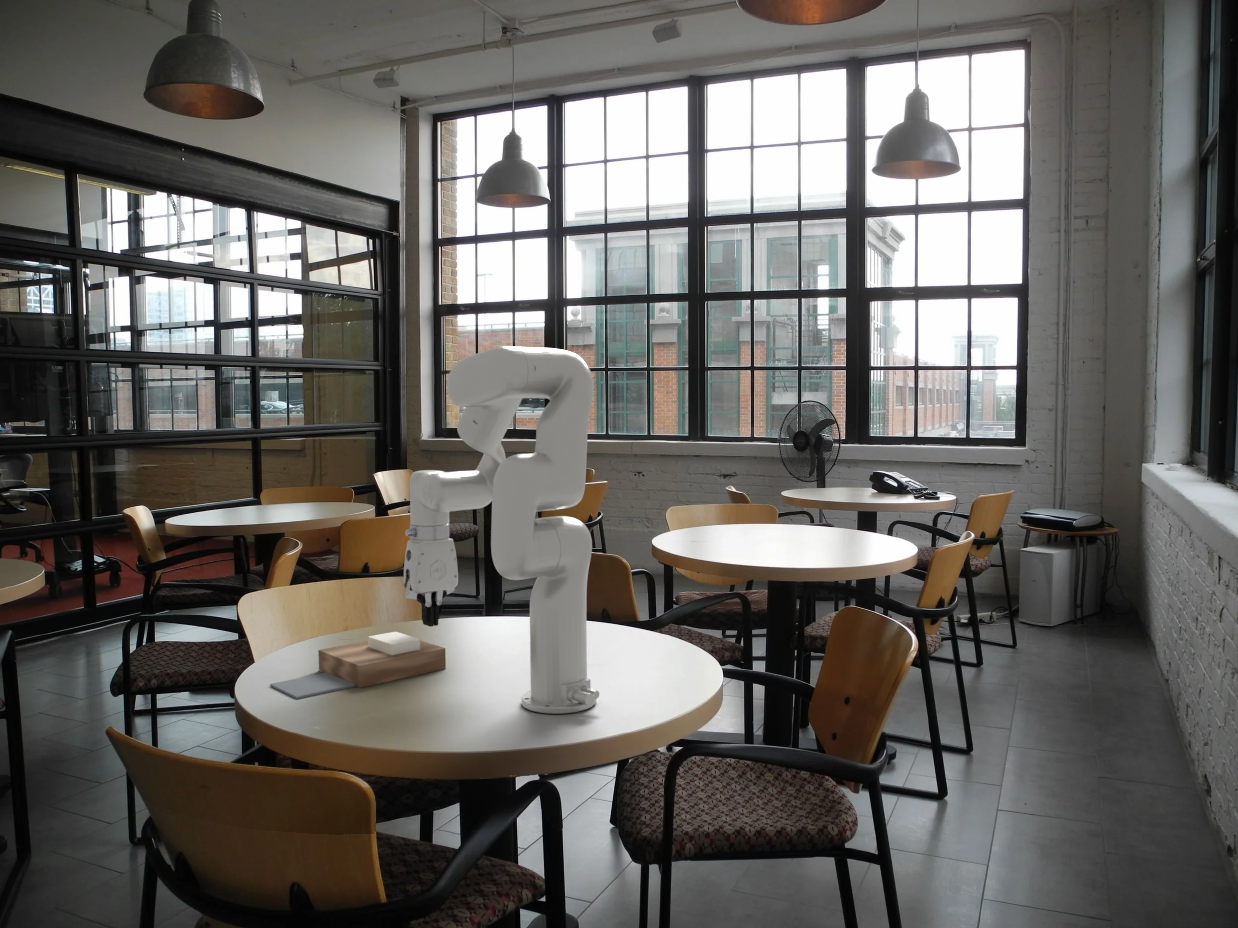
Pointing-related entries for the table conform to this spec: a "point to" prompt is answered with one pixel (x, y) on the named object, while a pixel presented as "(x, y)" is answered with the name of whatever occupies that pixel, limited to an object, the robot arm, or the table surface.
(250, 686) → the table surface
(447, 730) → the table surface
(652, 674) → the table surface
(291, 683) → the mat
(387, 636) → the cream white rectangular block
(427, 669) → the board
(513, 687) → the table surface
